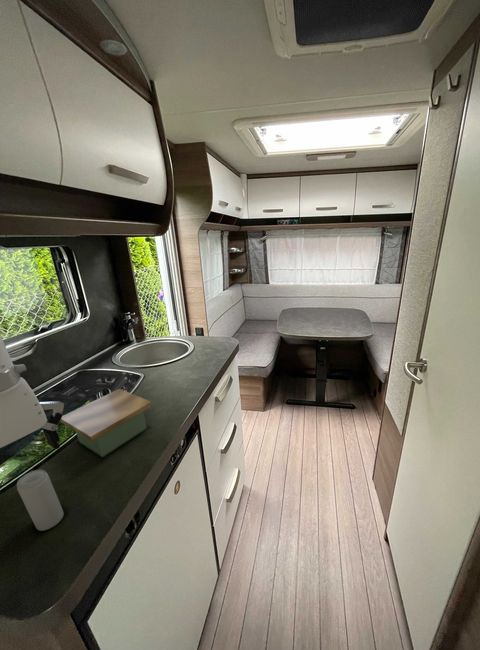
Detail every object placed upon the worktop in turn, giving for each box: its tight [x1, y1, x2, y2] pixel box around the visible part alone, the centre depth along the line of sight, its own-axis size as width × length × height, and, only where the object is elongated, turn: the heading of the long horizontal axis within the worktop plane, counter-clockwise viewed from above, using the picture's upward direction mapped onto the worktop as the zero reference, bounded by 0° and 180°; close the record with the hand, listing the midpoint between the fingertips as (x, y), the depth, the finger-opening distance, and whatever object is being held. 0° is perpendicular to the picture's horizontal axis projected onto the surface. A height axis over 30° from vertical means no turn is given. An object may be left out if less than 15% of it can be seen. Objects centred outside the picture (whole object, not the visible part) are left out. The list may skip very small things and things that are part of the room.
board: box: [59, 388, 153, 441], centre depth 80 cm, size 16×18×2 cm
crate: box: [75, 411, 148, 458], centre depth 82 cm, size 12×14×8 cm
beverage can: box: [16, 469, 65, 532], centre depth 56 cm, size 5×5×12 cm
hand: (26, 462), depth 52 cm, fingers open, 9 cm apart
